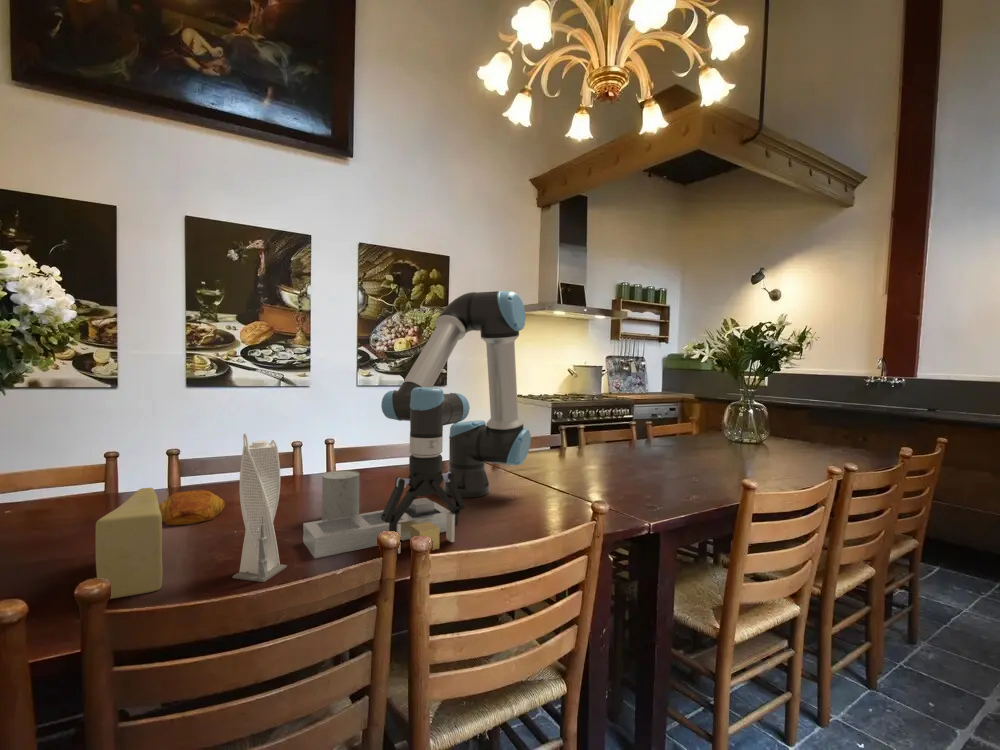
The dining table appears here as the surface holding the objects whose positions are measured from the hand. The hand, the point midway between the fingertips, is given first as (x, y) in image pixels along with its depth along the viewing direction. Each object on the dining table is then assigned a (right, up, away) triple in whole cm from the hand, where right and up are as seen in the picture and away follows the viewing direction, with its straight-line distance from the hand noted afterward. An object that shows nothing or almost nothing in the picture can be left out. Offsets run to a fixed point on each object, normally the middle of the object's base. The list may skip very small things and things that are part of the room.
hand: (424, 545), depth 114 cm
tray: (-12, 0, +7) cm, 13 cm away
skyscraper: (-32, -1, -14) cm, 34 cm away
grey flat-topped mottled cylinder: (-25, 0, +18) cm, 31 cm away
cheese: (-54, 0, -15) cm, 57 cm away
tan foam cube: (0, -1, 0) cm, 1 cm away
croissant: (-65, +1, +18) cm, 68 cm away
